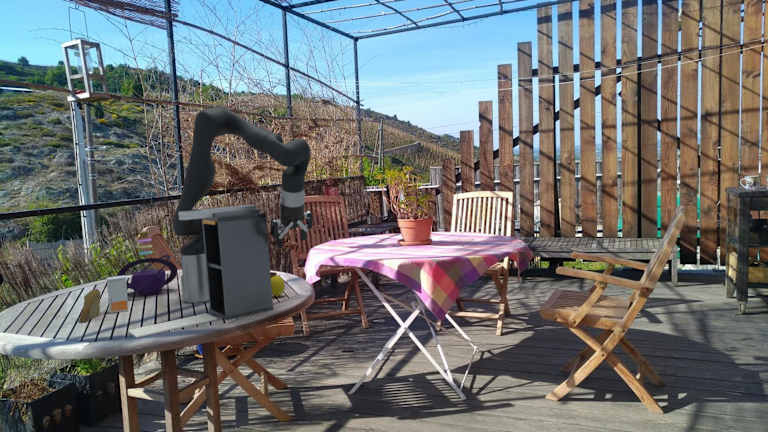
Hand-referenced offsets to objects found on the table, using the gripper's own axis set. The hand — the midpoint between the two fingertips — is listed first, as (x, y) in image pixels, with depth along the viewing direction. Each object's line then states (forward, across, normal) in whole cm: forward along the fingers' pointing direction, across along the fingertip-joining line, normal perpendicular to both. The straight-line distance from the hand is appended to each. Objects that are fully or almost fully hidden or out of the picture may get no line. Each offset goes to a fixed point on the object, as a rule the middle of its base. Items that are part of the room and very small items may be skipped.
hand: (291, 243), depth 179 cm
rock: (+30, +59, -30) cm, 73 cm away
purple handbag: (+44, +34, -50) cm, 75 cm away
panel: (-8, +19, -14) cm, 25 cm away
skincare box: (+32, +49, -32) cm, 67 cm away
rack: (+21, +18, 0) cm, 28 cm away
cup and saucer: (+35, -2, -20) cm, 40 cm away
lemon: (+27, +1, -7) cm, 28 cm away
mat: (+18, +40, 0) cm, 44 cm away
